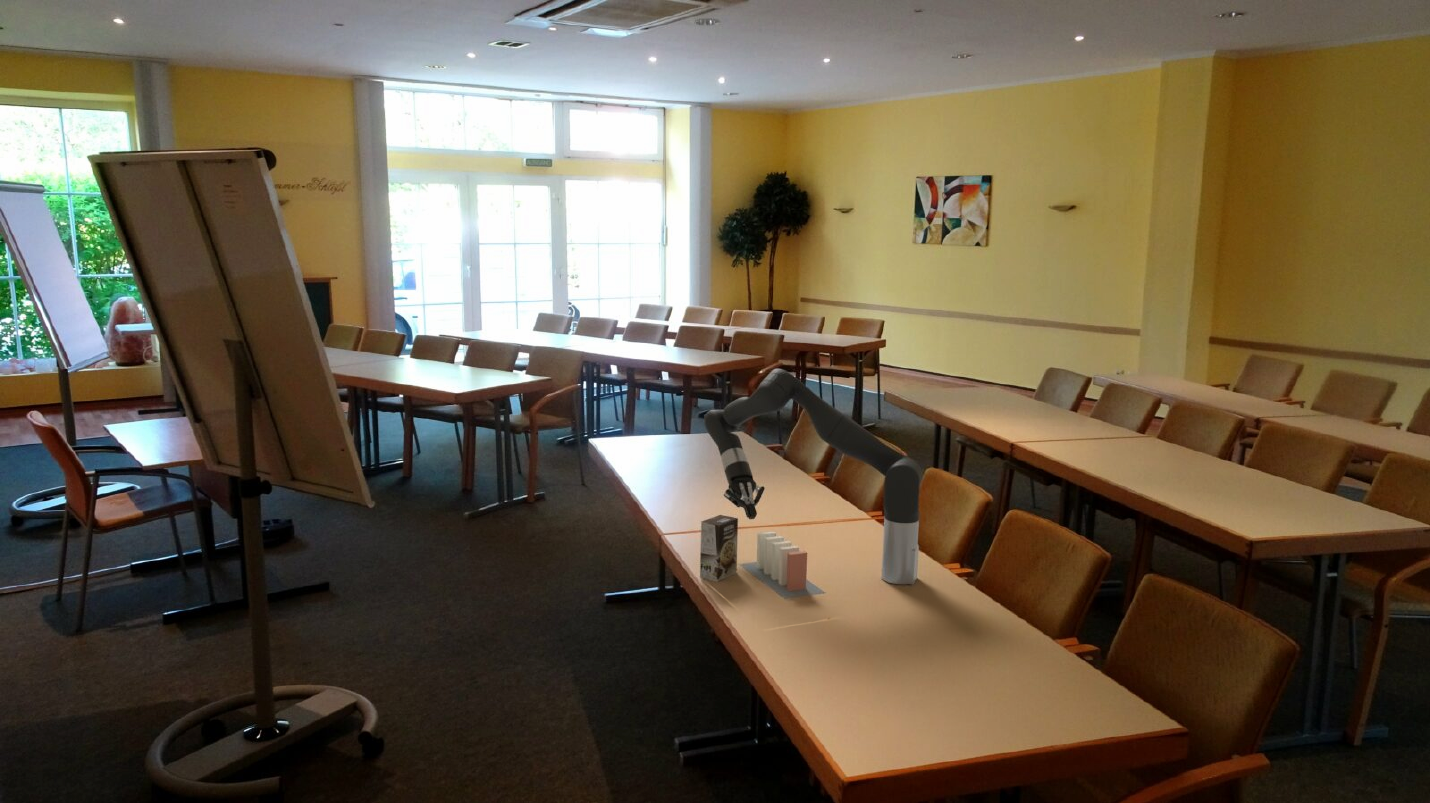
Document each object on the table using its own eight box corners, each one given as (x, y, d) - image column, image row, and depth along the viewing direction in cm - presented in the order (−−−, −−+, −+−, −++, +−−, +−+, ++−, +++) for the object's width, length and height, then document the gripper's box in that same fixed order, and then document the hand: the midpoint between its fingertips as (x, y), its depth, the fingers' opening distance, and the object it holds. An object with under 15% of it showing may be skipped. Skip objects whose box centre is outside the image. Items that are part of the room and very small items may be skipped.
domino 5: (803, 586, 255) (804, 550, 253) (806, 588, 254) (807, 552, 252) (786, 589, 253) (787, 552, 251) (789, 591, 252) (790, 554, 250)
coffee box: (717, 583, 258) (719, 525, 255) (699, 577, 262) (699, 520, 259) (737, 574, 265) (739, 517, 262) (719, 568, 269) (720, 513, 266)
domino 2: (779, 570, 267) (780, 535, 266) (782, 572, 266) (783, 537, 264) (763, 572, 265) (764, 537, 264) (766, 574, 264) (767, 539, 262)
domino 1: (772, 565, 271) (773, 531, 270) (775, 566, 270) (776, 532, 268) (756, 567, 269) (757, 532, 268) (759, 568, 268) (760, 534, 266)
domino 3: (787, 575, 263) (788, 540, 261) (790, 577, 262) (791, 542, 260) (771, 577, 261) (772, 542, 259) (773, 579, 260) (774, 544, 258)
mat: (739, 565, 272) (739, 563, 272) (776, 560, 277) (776, 558, 276) (784, 600, 247) (784, 598, 246) (825, 593, 251) (825, 592, 251)
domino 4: (795, 580, 259) (796, 545, 257) (797, 582, 258) (799, 547, 256) (778, 583, 257) (779, 547, 255) (781, 585, 256) (782, 549, 254)
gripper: (752, 471, 290) (769, 522, 281) (712, 475, 284) (727, 526, 275) (760, 458, 284) (777, 509, 275) (719, 461, 279) (735, 513, 270)
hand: (752, 517), depth 275 cm, fingers closed
